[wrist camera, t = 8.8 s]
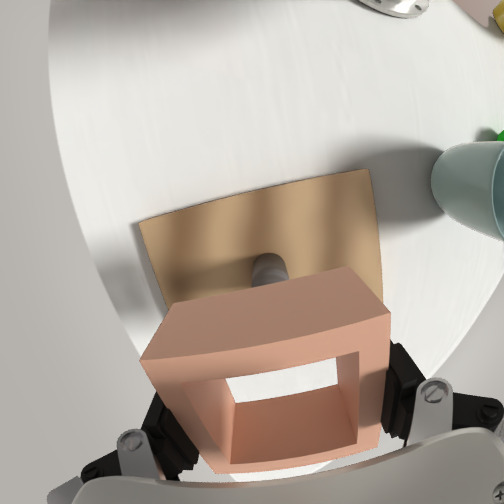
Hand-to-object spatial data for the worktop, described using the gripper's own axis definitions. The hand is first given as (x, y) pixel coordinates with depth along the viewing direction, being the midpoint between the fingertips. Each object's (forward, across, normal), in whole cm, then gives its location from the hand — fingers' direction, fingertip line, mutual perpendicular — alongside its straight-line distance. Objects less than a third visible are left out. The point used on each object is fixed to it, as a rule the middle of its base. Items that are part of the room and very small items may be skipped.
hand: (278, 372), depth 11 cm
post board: (+14, 0, 0) cm, 14 cm away
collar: (+1, 0, 0) cm, 1 cm away
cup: (+14, -20, -4) cm, 25 cm away
